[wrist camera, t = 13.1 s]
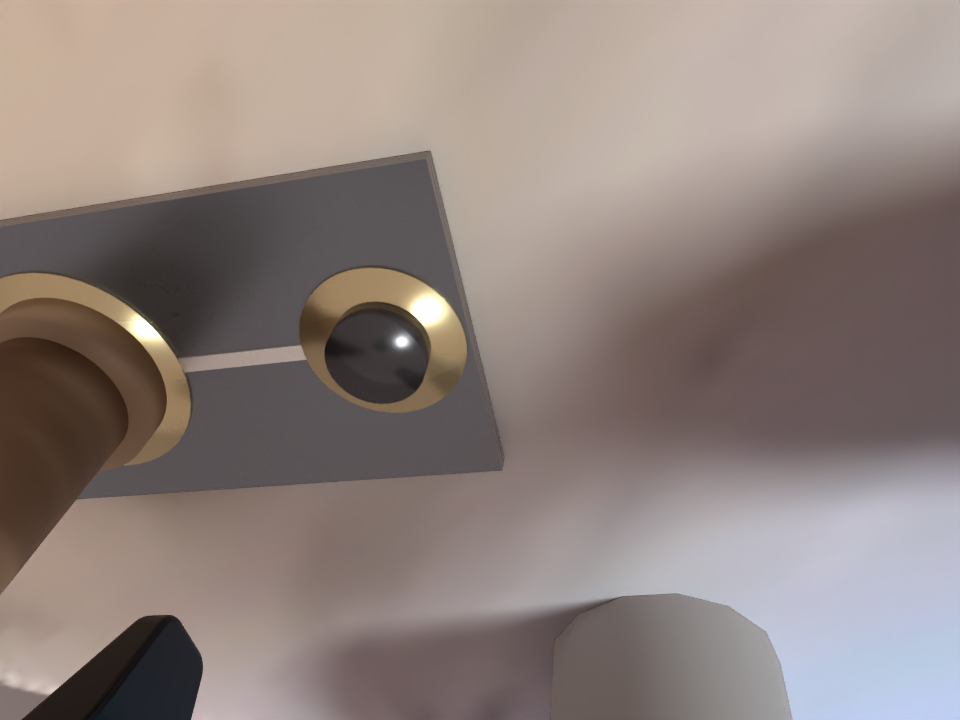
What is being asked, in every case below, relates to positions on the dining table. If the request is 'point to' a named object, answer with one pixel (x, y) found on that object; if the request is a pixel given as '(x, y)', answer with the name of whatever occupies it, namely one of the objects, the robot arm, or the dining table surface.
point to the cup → (666, 664)
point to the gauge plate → (279, 325)
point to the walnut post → (65, 414)
